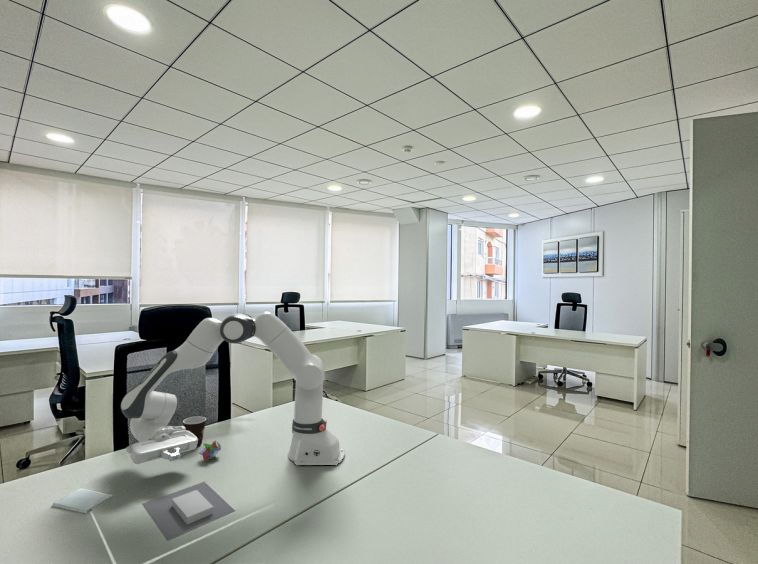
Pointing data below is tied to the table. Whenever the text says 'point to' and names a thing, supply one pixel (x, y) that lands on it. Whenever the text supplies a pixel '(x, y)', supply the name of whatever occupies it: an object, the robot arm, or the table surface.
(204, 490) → the mat
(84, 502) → the hard drive
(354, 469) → the table surface
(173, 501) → the tile
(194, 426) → the coffee mug
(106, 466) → the table surface
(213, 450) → the geometric puzzle
